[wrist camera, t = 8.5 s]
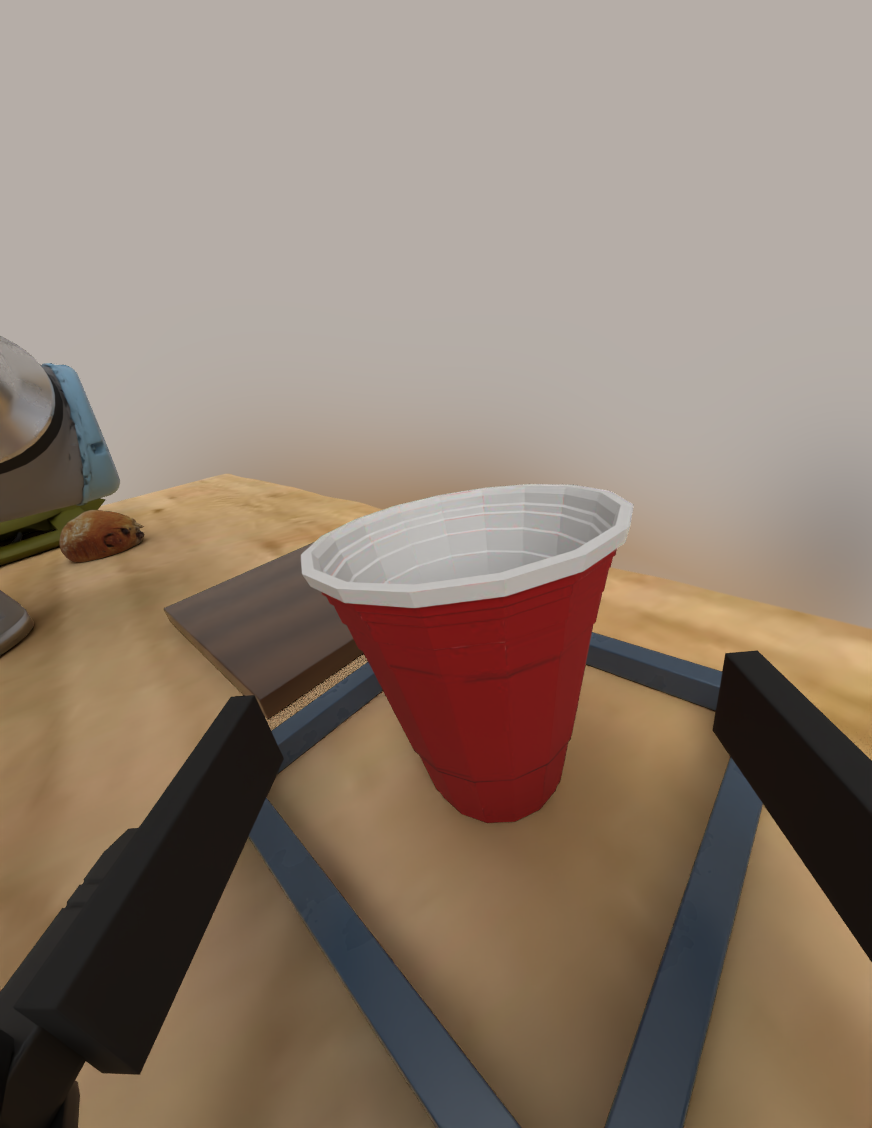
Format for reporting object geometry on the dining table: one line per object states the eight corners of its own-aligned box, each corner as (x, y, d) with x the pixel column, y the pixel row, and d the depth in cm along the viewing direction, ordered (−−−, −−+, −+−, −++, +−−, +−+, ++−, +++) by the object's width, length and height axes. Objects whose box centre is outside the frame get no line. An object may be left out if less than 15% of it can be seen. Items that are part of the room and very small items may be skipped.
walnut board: (170, 622, 37) (163, 608, 36) (335, 545, 48) (331, 534, 47) (268, 719, 24) (259, 700, 23) (466, 582, 34) (463, 566, 34)
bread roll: (128, 558, 70) (89, 521, 67) (165, 527, 67) (125, 487, 64) (77, 586, 61) (30, 544, 58) (117, 552, 58) (69, 507, 55)
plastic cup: (558, 659, 24) (549, 454, 19) (687, 849, 14) (737, 529, 9) (376, 701, 23) (317, 500, 18) (379, 931, 14) (253, 633, 9)
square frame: (221, 795, 19) (209, 774, 19) (466, 609, 31) (464, 592, 30) (614, 1403, 7) (616, 1401, 6) (783, 717, 18) (790, 691, 18)
